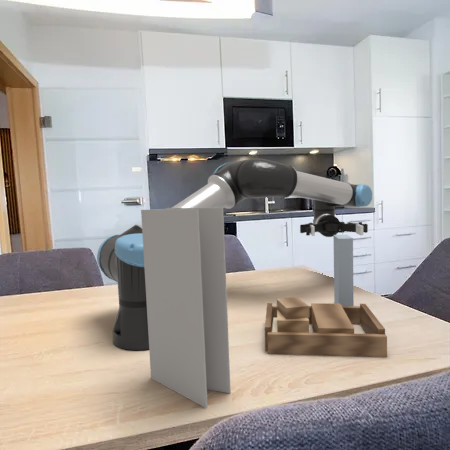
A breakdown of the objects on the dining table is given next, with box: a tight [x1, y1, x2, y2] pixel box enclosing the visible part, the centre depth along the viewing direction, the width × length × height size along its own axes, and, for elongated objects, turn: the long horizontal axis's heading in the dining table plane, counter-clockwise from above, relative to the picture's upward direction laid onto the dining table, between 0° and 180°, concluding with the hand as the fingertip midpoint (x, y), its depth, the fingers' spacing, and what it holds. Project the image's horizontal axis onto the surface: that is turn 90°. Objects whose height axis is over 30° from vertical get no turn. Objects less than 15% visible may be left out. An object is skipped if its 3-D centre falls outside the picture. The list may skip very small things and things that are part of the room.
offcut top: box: [276, 296, 310, 320], centre depth 79 cm, size 5×7×2 cm
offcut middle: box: [277, 310, 310, 333], centre depth 79 cm, size 6×9×3 cm
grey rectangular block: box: [332, 234, 355, 306], centre depth 94 cm, size 4×8×20 cm, turn 171°
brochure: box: [140, 207, 232, 409], centre depth 60 cm, size 14×6×30 cm, turn 47°
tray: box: [264, 302, 388, 358], centre depth 79 cm, size 23×18×5 cm
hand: (337, 230), depth 103 cm, fingers open, 13 cm apart
